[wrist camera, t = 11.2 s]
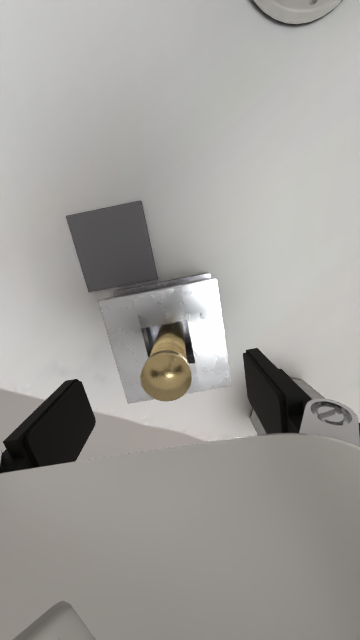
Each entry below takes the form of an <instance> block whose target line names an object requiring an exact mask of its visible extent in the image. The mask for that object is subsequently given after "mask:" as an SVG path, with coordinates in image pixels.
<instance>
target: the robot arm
mask: <svg viewBox="0 0 360 640" xmlns="http://www.w3.org/2000/svg"><path fill="white" fill-rule="evenodd" d="M253 1H254V2H255V3H256V4H257V5H258V6H259V8H260V9H261V10H262V11H263V12H264V13H266V14H267V15H269V16H270V17H272V18H273V19H276V20H278V21H281V22H284V23H291V24H301V23H307V22H311V21H313V20H316V19H318V18H320V17H323V16H324V15H325V14H327V13H328V12H330V11H331V10H333V9H334V8H335V7H336V6H337V5H338V4H339V3H340V2H341V1H342V0H253ZM243 359H244V368H245V378H246V387H247V395H248V399H249V402H250V403H251V405H252V407H253V409H254V411H255V413H256V415H257V417H258V419H259V420H260V422H261V424H262V426H263V428H264V430H265V432H266V434H263V435H254V436H245V437H237V438H230V439H223V440H216V441H210V442H203V443H196V444H189V445H182V446H175V447H168V448H162V449H155V450H149V451H141V452H135V453H128V454H121V455H115V456H109V457H102V458H95V459H88V460H82V461H76V459H77V457H78V456H79V454H80V452H81V450H82V448H83V446H84V445H85V443H86V441H87V439H88V437H89V435H90V434H91V431H92V430H93V428H94V426H95V422H96V421H95V417H94V414H93V411H92V409H91V406H90V403H89V401H88V398H87V395H86V392H85V390H84V387H83V384H82V382H81V381H79V380H78V379H74V380H68V381H65V382H64V383H63V384H62V385H61V386H60V387H59V388H58V389H57V390H56V391H55V392H54V393H53V394H52V395H51V396H49V397H48V398H47V399H46V400H45V401H44V402H43V403H42V404H41V405H40V406H39V407H38V408H37V409H36V410H35V411H34V412H33V413H32V414H31V415H30V416H29V417H28V418H27V419H26V420H25V421H24V422H23V423H22V424H21V425H20V426H19V427H18V428H17V429H16V430H15V431H14V432H13V433H12V434H11V435H10V436H8V437H7V439H5V440H4V441H3V443H4V445H5V447H6V450H5V451H4V452H3V453H2V451H1V450H0V640H360V423H359V421H358V418H357V415H356V414H355V413H354V412H353V410H351V409H350V408H349V407H347V406H346V405H344V404H342V403H339V402H337V401H333V400H329V399H312V398H311V397H310V396H309V395H308V394H307V393H306V392H305V391H304V390H302V389H301V388H300V387H299V386H298V385H297V384H296V383H295V382H294V381H293V380H292V379H291V378H290V377H289V376H288V375H287V374H286V373H285V372H284V371H283V370H282V369H278V368H277V367H276V366H275V365H274V364H273V363H272V362H271V361H270V360H269V359H268V358H267V357H266V356H265V355H264V354H263V353H262V352H261V351H260V350H259V349H258V348H255V349H249V350H246V353H243Z"/></svg>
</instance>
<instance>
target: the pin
mask: <svg viewBox="0 0 360 640" xmlns="http://www.w3.org/2000/svg"><path fill="white" fill-rule="evenodd" d="M140 381H141V385H142V387H143V389H144V391H145V392H146V393H147V394H148V395H149V396H151V397H152V398H154V399H157V400H160V401H173V400H176V399H178V398H180V397H182V396H183V395H184V394H185V393H186V392H187V391H188V389H189V388H190V385H191V381H192V376H191V369H190V365H189V363H188V361H187V357H186V348H185V338H184V329H183V324H182V322H181V321H179V322H174V323H169V324H163V325H161V326H160V328H159V331H158V334H157V337H156V340H155V343H154V346H153V349H152V352H151V354H150V357H149V358H148V359H147V360H146V362H145V363H144V366H143V368H142V371H141V376H140Z"/></svg>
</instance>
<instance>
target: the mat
mask: <svg viewBox="0 0 360 640" xmlns="http://www.w3.org/2000/svg"><path fill="white" fill-rule="evenodd" d="M66 218H67V222H68V225H69V228H70V232H71V235H72V238H73V242H74V245H75V248H76V252H77V255H78V258H79V262H80V265H81V268H82V272H83V275H84V278H85V282H86V285H87V288H88V292H92V291H97V290H103V289H108V288H113V287H118V286H123V285H128V284H134V283H139V282H144V281H149V280H154V279H158V278H157V273H156V268H155V263H154V259H153V254H152V249H151V244H150V240H149V235H148V230H147V225H146V221H145V216H144V211H143V206H142V202H141V201H136V202H131V203H127V204H122V205H117V206H112V207H107V208H102V209H98V210H93V211H88V212H83V213H78V214H74V215H69V216H66Z"/></svg>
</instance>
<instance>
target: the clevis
mask: <svg viewBox="0 0 360 640" xmlns="http://www.w3.org/2000/svg"><path fill="white" fill-rule="evenodd" d="M98 303H99V306H100V310H101V313H102V316H103V320H104V323H105V327H106V330H107V334H108V337H109V340H110V344H111V347H112V351H113V354H114V358H115V361H116V364H117V368H118V371H119V375H120V378H121V382H122V385H123V388H124V392H125V395H126V399H127V402H128V404H129V403H135V402H141V401H147V400H153V399H154V398H152V397H151V396H149V395H148V394H147V393H146V392H145V391H144V389H143V387H142V385H141V381H140V376H141V371H142V368H143V366H144V363H145V362H146V360H147V359H148V358H149V357H150V354H151V352H152V349H153V346H154V343H155V340H156V337H157V334H158V331H159V328H160V326H161V325H163V324H169V323H174V322H179V321H181V322H182V324H183V329H184V338H185V348H186V357H187V361H188V363H189V365H190V369H191V376H192V381H191V385H190V388H189V389H188V391H187V392H186V393H185V394H187V393H193V392H199V391H205V390H211V389H216V388H222V387H228V386H231V378H230V371H229V364H228V357H227V349H226V342H225V335H224V328H223V321H222V313H221V306H220V299H219V292H218V284H217V279H212V278H211V275H210V273H207V274H201V275H196V276H191V277H186V278H181V279H175V280H170V281H165V282H160V283H155V284H149V285H144V286H139V287H134V288H129V289H123V290H118V291H114V297H113V298H108V299H104V300H101V301H98Z"/></svg>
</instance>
